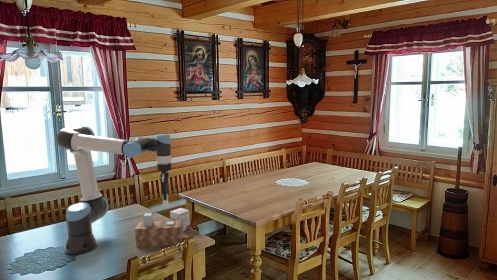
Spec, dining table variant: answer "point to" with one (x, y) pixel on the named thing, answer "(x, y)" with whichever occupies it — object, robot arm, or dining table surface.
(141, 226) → the socket block
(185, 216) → the ink box
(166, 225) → the peg
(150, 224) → the peg
